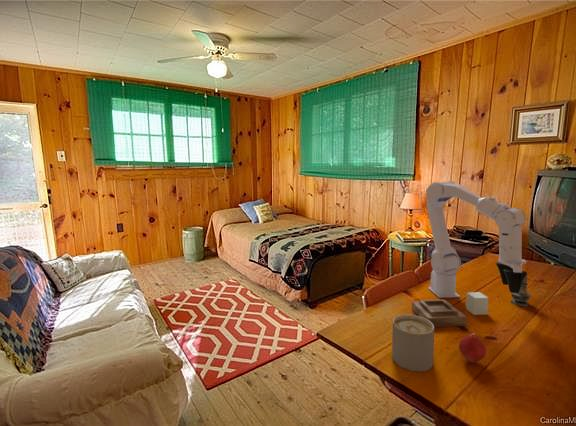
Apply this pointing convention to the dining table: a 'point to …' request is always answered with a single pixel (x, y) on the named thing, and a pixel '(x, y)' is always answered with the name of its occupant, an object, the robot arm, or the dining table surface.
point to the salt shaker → (521, 295)
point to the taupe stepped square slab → (439, 313)
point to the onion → (472, 348)
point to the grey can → (413, 342)
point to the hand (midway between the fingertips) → (510, 288)
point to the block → (477, 303)
